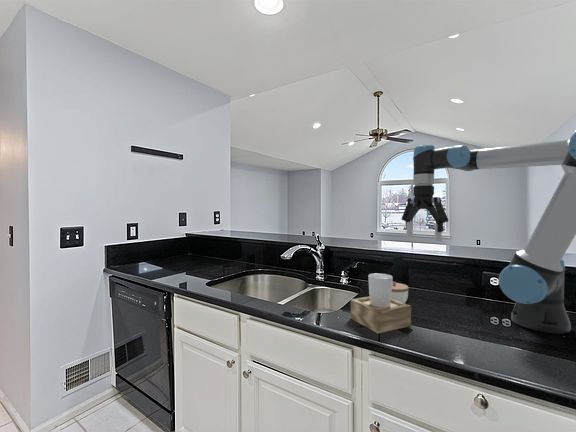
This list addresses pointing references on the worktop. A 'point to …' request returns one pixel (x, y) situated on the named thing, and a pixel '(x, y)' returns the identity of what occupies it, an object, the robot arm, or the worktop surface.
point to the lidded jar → (399, 292)
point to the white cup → (380, 290)
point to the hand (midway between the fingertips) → (423, 239)
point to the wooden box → (381, 315)
